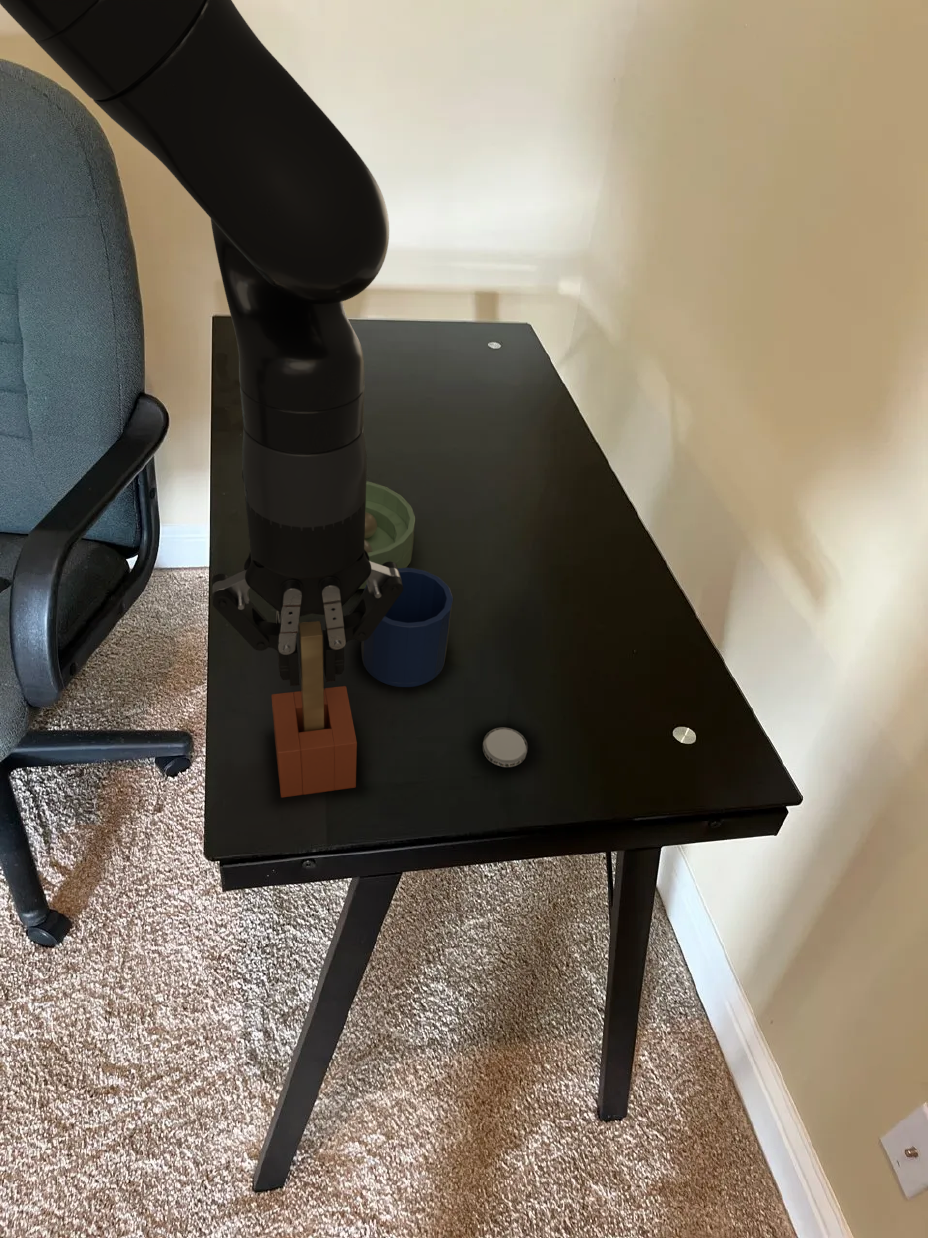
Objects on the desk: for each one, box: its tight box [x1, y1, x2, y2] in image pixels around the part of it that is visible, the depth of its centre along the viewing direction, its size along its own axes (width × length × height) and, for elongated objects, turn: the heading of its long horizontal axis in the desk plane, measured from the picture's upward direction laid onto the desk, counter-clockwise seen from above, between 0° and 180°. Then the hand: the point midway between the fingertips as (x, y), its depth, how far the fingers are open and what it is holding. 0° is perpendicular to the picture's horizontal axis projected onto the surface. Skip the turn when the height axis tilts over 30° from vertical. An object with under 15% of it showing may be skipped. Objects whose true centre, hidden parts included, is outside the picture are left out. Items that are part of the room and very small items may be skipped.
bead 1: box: [365, 512, 377, 539], centre depth 93 cm, size 3×3×3 cm
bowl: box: [358, 480, 416, 590], centre depth 91 cm, size 14×14×5 cm
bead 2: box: [364, 540, 373, 553], centre depth 89 cm, size 3×3×3 cm
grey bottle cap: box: [482, 727, 529, 768], centre depth 74 cm, size 4×4×1 cm
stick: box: [298, 620, 325, 732], centre depth 66 cm, size 2×2×16 cm
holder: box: [270, 685, 358, 799], centre depth 69 cm, size 6×6×6 cm
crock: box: [360, 567, 454, 688], centre depth 79 cm, size 8×8×8 cm
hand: (311, 675), depth 64 cm, fingers closed
